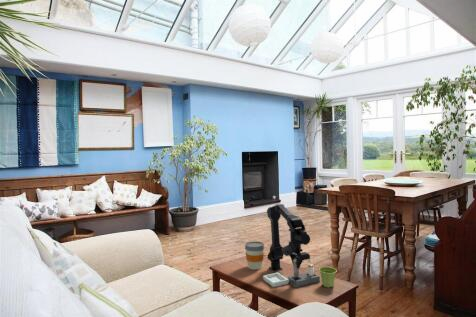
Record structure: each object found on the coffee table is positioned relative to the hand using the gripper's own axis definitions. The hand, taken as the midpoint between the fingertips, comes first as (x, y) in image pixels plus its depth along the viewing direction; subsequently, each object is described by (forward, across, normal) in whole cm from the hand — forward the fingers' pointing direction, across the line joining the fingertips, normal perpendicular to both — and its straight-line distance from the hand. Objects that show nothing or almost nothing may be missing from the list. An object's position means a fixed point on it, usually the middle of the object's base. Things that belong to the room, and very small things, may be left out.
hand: (296, 267), depth 175 cm
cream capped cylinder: (+5, 0, 0) cm, 5 cm away
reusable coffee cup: (+9, -34, -9) cm, 36 cm away
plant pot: (+9, +10, +14) cm, 20 cm away
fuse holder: (+9, 0, +5) cm, 10 cm away
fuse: (+9, 0, +10) cm, 14 cm away
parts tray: (+9, -8, -9) cm, 15 cm away
